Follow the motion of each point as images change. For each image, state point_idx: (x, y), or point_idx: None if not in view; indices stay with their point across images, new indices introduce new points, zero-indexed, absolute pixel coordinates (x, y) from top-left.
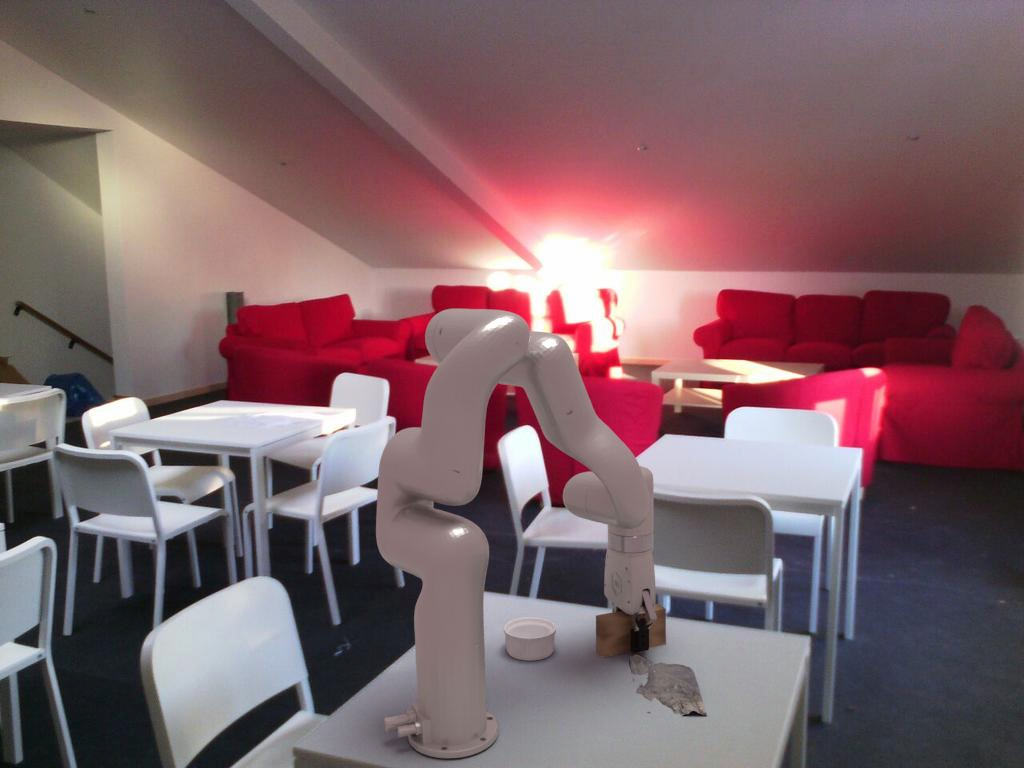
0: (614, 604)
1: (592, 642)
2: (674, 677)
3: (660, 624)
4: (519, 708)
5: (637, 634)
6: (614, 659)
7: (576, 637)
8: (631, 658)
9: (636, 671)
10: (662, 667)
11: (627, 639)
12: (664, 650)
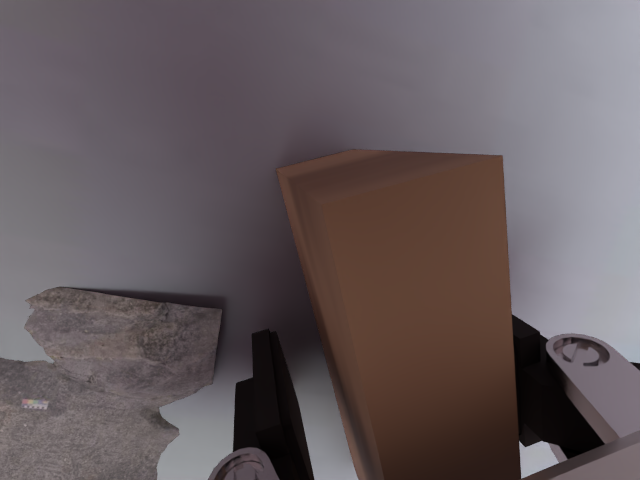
0: (574, 469)
1: None
2: None
3: None
4: None
5: (249, 441)
6: (241, 226)
7: (535, 83)
8: (199, 315)
9: (64, 313)
10: (80, 444)
11: (327, 343)
12: None
